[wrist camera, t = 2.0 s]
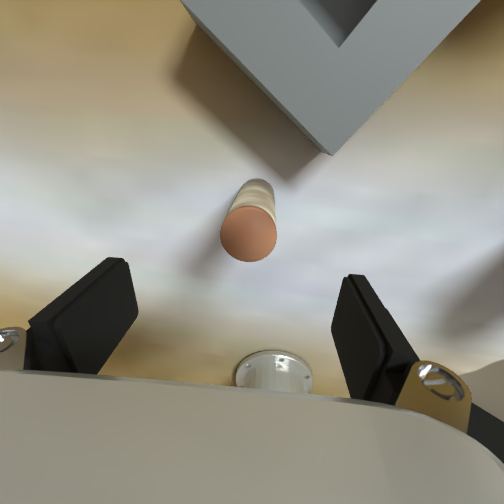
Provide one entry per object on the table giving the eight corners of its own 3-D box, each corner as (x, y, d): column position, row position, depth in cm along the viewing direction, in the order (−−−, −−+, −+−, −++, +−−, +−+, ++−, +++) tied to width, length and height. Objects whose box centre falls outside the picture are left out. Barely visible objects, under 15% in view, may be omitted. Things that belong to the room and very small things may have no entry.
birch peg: (281, 194, 28) (288, 235, 17) (258, 220, 29) (251, 271, 19) (254, 170, 27) (244, 197, 16) (232, 197, 28) (209, 238, 18)
